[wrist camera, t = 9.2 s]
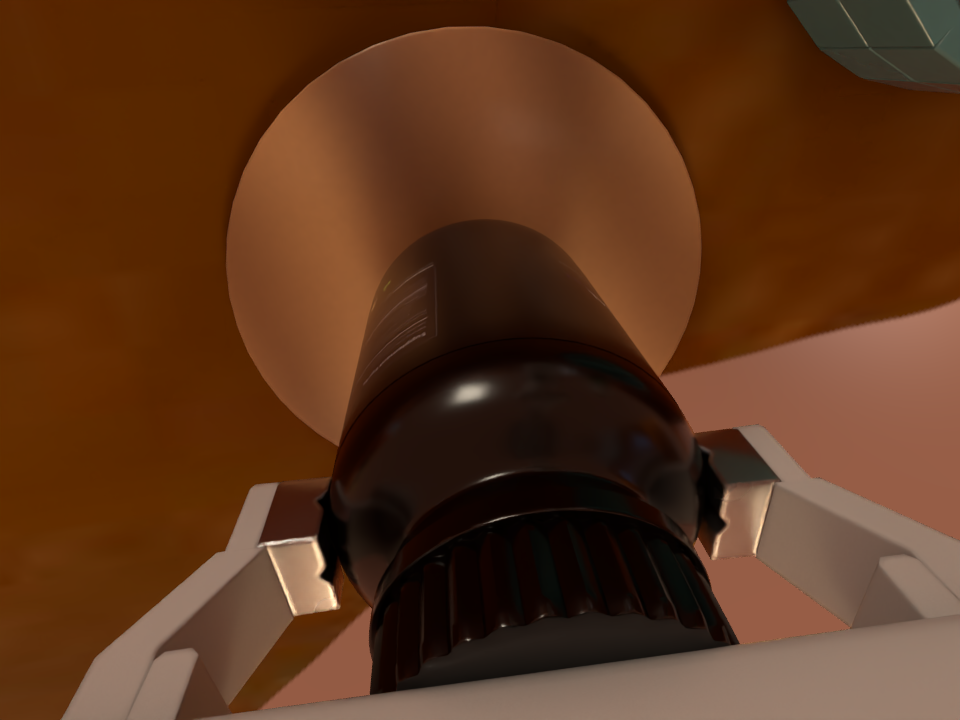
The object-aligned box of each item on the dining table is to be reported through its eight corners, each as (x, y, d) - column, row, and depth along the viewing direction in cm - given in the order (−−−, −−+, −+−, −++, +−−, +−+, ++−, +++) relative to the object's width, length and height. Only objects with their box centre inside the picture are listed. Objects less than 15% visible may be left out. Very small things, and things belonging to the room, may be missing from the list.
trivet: (549, -118, 14) (554, -125, 13) (758, 333, 21) (766, 340, 20) (120, 244, 17) (110, 250, 17) (427, 524, 24) (427, 535, 24)
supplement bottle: (630, 272, 17) (973, 643, 6) (519, 435, 19) (631, 880, 9) (425, 166, 15) (435, 462, 4) (334, 365, 17) (204, 841, 7)
